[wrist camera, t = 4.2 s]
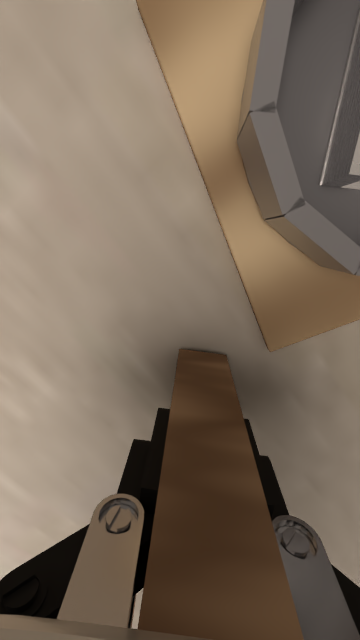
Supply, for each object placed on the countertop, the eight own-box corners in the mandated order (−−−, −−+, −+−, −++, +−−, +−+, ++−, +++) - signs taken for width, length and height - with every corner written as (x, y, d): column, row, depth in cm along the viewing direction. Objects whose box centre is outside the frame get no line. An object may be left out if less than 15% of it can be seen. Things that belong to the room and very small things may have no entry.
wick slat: (226, 354, 15) (318, 693, 4) (213, 428, 17) (255, 855, 5) (179, 348, 15) (131, 666, 4) (170, 422, 17) (113, 833, 5)
